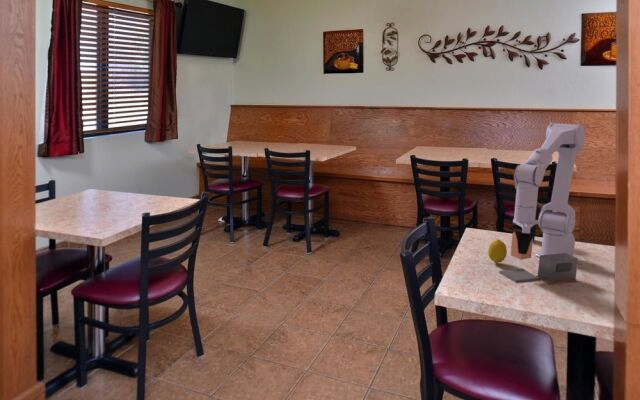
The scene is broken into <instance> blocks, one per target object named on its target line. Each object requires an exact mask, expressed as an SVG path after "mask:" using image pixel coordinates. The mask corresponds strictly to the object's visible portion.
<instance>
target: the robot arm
mask: <svg viewBox="0 0 640 400" xmlns="http://www.w3.org/2000/svg"><path fill="white" fill-rule="evenodd" d="M585 136H586V130H585V127H584V125H583V124H582V123H581V124H580V123H579V124H573V123H555V122H551V123H550V124H548V126H547V128H546V130H545V138H546V139H545V140H544V142H543V144H542V145H541V146H540V147H538V148H535V149H534V150H533V152H532V153H531V154H530V156H529V157H528V158H527V159H526V161H525V162H524V163H521V164H518V165H517V166H516V168H515V170H514V174H513V180H514V188H515V190H516V193H515V203H514V216H513V217H514V218H513V219H512V227H513V233H515V234H516V237H517V244H518V253H519V254H527V251H528V248H529V245H530V242H531V240H532V239H533V237H534V236H535V237H536V233H537V232H536V233H535V232H532V231H530V230H531V228H532V227H533V226H534V225H535V224H537V225H538V227H539V228H540V231H541V232H542V242H541V252H540V253H535V254H534V256H536V257H538V258H540V255H549V254H560V253H567V254H569V255H572V256H574V253H575V245H576V244H575V243H576V239H575V236H574V234H573V232H574V229H575V226H576V211H575V209H574V208H573V207H572V206H571V205H570V203H569V202H568V201H569V196H570V190H571V184H572V179H573V173H574V167H575V162H576V159H577V158H576V157H577V154H578V153H579V152H582V151H583V147H584V144H585ZM556 151H557V153H558V158H557V163H556V170H555V176H554V180H553V181H554V182H553V188H552V193H551V199H550V202H548V203H546V204H544V205H542V207H541V209H540V214H539V219H538V220H535V216H536V206H537V202H538V195H539V194H538V193H539V186H540V185H541V184H542V182H543V180H544V176H545V174H546V170H547V168H548V167H549V166H550V164H551V162H553V154H555V152H556Z"/></svg>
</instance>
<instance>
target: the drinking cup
mask: <svg viewBox="0 0 640 400" xmlns="http://www.w3.org/2000/svg"><path fill="white" fill-rule="evenodd" d="M542 207H543V205H542V204H541V203H539V202H538V201H537V206H536V216H535V220H538V219H539V215H540V213H541V210H542ZM537 227H538V224H535V225H534V226H533V227H532V228H531V230H530V231H532V232H535V233H537ZM535 237H536V235H535V236H534V237H533V242H535Z"/></svg>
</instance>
